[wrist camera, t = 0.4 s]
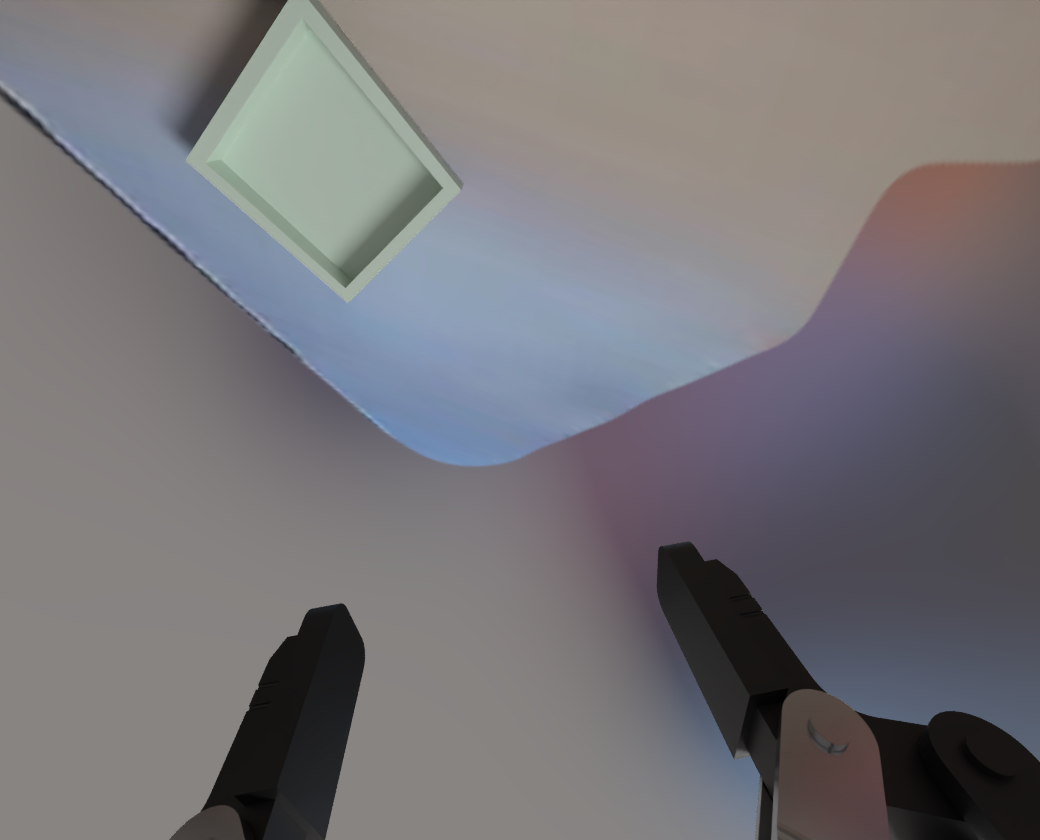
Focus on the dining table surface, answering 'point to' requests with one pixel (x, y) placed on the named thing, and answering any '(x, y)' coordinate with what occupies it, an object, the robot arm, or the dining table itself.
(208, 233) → the dining table surface
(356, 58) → the tray
